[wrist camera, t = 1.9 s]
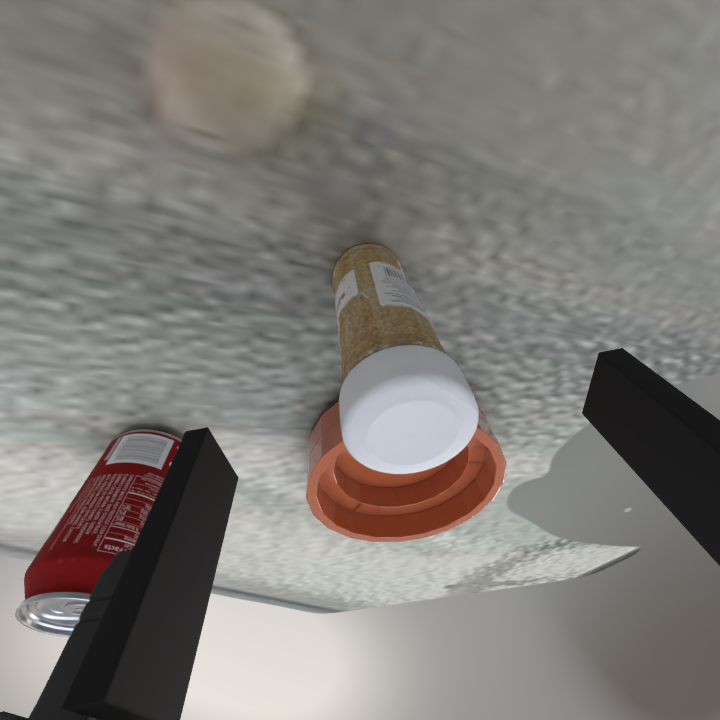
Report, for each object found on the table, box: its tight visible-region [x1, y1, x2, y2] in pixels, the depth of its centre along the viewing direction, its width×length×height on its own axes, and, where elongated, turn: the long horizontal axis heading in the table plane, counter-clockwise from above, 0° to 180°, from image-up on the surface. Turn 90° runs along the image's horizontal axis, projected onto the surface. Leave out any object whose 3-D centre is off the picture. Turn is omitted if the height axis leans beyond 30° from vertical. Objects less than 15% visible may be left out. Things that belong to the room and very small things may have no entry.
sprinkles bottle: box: [332, 244, 479, 474], centre depth 16 cm, size 5×5×13 cm
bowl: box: [306, 401, 506, 542], centre depth 29 cm, size 16×16×5 cm
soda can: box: [15, 429, 182, 637], centre depth 24 cm, size 7×7×12 cm
